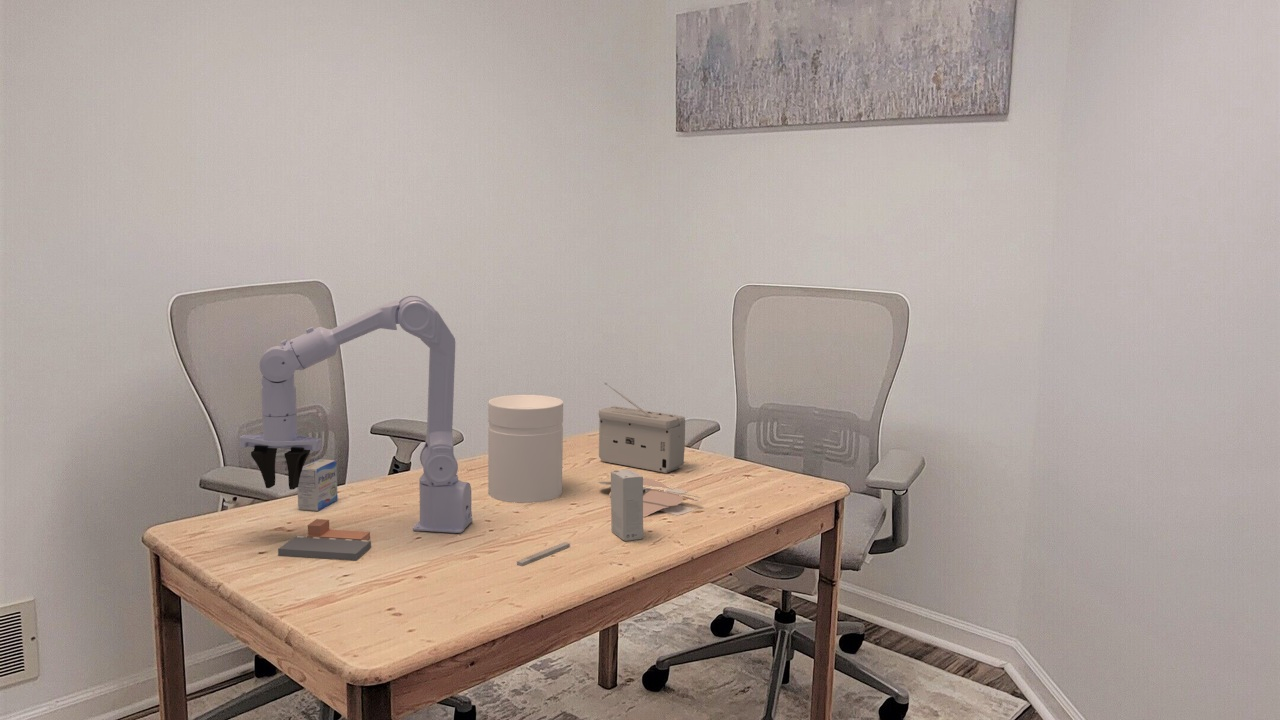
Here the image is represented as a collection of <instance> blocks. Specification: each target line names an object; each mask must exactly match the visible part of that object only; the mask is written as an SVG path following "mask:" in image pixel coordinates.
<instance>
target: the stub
mask: <svg viewBox="0 0 1280 720" xmlns="http://www.w3.org/2000/svg"><path fill="white" fill-rule="evenodd" d="M370 532H371V531H365V530H364V531H363V530H362V531H361V530H347V529H346V530H345V529H331V528H330V519H324V518H322V519H321V518H316V519H314V520H313V521H312V522H310V523H309V524H308V525H307V536H306V537H319V538H335V539H351V540H366V541H369V539H371V533H370Z"/></svg>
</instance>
